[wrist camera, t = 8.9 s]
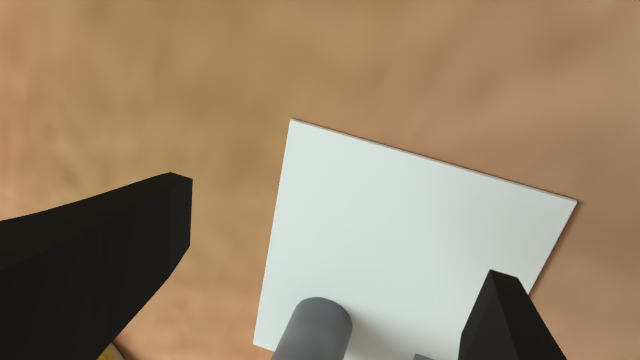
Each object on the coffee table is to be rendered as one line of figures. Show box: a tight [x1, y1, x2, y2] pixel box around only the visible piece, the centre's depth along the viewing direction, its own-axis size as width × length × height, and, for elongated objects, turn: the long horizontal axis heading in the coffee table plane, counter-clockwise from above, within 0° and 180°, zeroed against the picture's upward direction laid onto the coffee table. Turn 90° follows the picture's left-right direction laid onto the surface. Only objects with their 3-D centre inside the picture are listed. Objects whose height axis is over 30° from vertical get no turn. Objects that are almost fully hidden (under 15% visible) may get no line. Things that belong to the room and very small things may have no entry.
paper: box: [253, 118, 577, 360], centre depth 24 cm, size 12×14×1 cm
